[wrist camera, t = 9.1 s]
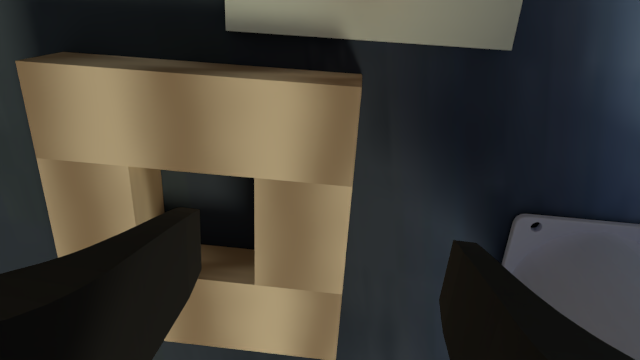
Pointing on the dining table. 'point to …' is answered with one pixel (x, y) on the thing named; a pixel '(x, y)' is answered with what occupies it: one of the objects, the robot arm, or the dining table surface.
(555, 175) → the dining table surface
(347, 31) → the mat
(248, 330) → the pocket block
